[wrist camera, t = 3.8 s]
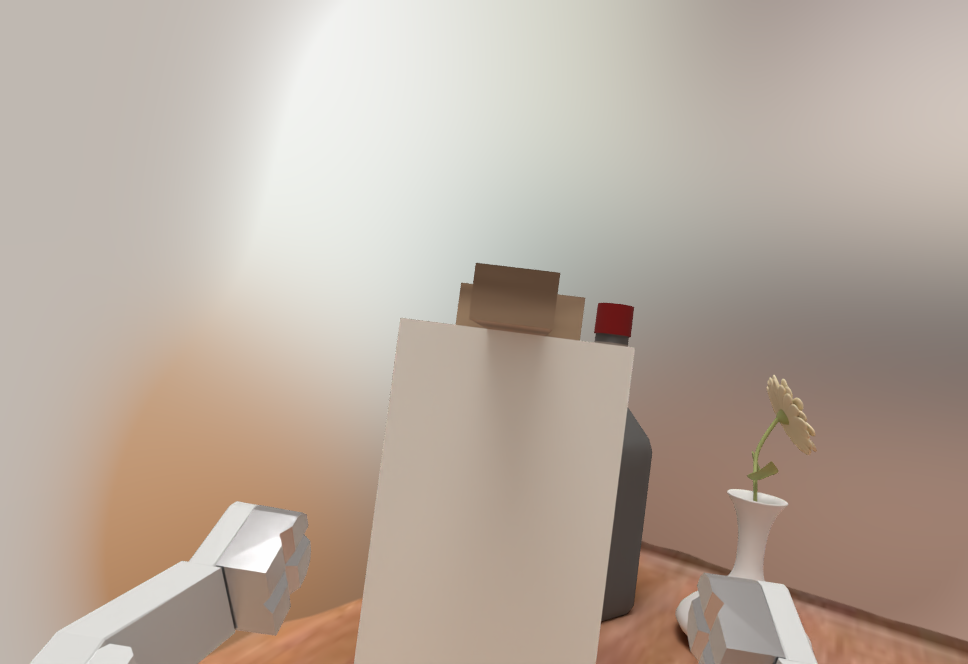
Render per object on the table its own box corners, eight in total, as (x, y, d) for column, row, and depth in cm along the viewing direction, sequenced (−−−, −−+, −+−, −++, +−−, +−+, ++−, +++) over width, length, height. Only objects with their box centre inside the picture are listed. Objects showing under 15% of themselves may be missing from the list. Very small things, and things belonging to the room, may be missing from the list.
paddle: (610, 336, 20) (619, 265, 20) (413, 311, 21) (422, 242, 21) (569, 344, 40) (573, 308, 40) (469, 331, 41) (474, 296, 41)
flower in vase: (805, 706, 44) (843, 381, 45) (657, 647, 50) (692, 363, 51) (816, 645, 55) (846, 384, 56) (693, 602, 61) (721, 369, 62)
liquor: (582, 630, 52) (624, 299, 52) (515, 588, 59) (552, 298, 60) (644, 611, 57) (680, 313, 58) (576, 575, 65) (609, 310, 65)
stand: (572, 854, 28) (634, 347, 29) (334, 807, 29) (400, 317, 30) (554, 659, 46) (593, 349, 47) (408, 633, 47) (448, 330, 48)
